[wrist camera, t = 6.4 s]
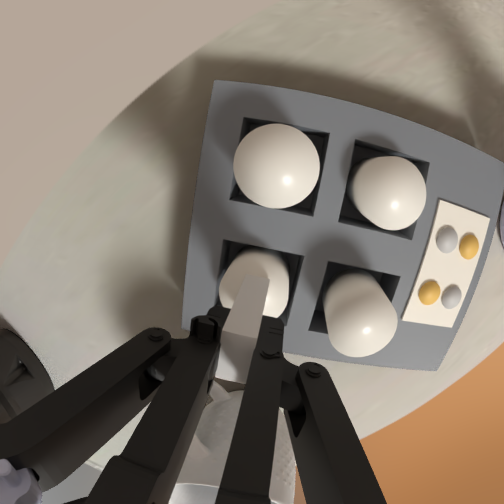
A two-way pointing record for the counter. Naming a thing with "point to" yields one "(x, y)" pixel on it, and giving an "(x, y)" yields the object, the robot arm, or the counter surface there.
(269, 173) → the button
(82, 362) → the counter surface
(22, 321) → the counter surface
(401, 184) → the button
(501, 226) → the soap bottle
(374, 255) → the button board
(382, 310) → the button
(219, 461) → the mug
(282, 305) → the button
